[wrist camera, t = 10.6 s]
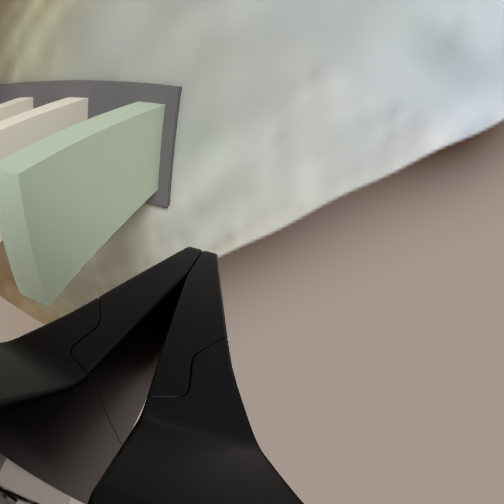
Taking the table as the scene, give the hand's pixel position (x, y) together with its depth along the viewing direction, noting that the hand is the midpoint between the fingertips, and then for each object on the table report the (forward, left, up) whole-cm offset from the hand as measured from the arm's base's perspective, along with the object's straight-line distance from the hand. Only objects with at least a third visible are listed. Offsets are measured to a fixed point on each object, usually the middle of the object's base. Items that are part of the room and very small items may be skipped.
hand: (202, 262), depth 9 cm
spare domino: (0, -6, -8) cm, 10 cm away
